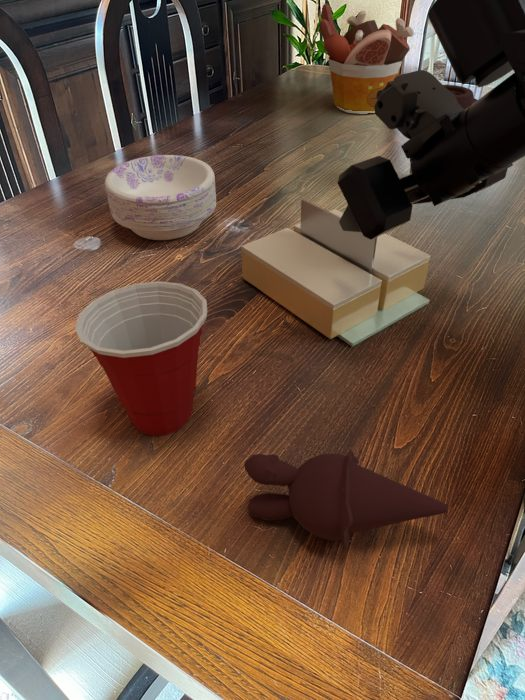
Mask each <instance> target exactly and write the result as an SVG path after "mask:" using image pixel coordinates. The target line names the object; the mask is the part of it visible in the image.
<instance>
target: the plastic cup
mask: <svg viewBox="0 0 525 700" xmlns="http://www.w3.org/2000/svg"><path fill="white" fill-rule="evenodd" d="M207 316H208V301H207V299H206V298H205V297H204V296H203V295H202V294H201V293H200V292H199V291H198V289H196V288H194V287H193V288H192V287H190V286H188V285H186V284H183V283H179V282H168V281H160V280H159V281H149V282H139V283H138V282H137V283H132V284H130V285H126V286H122V287H119V288H116V289H112V290H110V291H108V292H106V293H105V294H102V295H101V296H98V297H97V298H95V299H93V300H91V302H90V303H88V305H87V306H86V307H84V308H83V309H82V310H81V311H80V313H78V315H77V319H76V322H75V325H74V330H75V332H76V335H77V337H78V339H79V342H81V344H82V345H83V346H85V347H86V348H88V349H89V350H90V351H91V352H92V354H93V356H94V357H95V358H96V360H97V361H98V363H99V365H100V366H101V368H102V369H103V371H104V373H105V375H106V377H107V378H108V381H109V383H110V385H111V387H112V389H113V391H114V392H115V395H116V397H117V398H118V400H119V402H120V404H121V407H123V408H124V410H125V412H126V414H127V416H128V418H129V420H130V423H131V424H132V425H133V426H134V428H135V429H137V430H138V431H140V432H141V433H142V434H144V435H145V434H146V435H149V436H154V437H157V436H166V435H169V434H172V433H174V432H177V431H179V430H180V429H182V428H183V427H184V426H186V425H187V424H188V421H189V420H190V418H191V416H192V413H193V410H194V409H193V408H194V398H195V396H194V395H195V391H196V385H197V374H198V360H199V351H200V350H199V348H200V345H201V336H202V332H203V326H204V323H205V321H206V320H207Z"/></svg>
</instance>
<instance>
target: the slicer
mask: <svg viewBox="0 0 525 700" xmlns="http://www.w3.org/2000/svg"><path fill="white" fill-rule="evenodd" d="M300 201H301V202H300V223H301V225H300V235H302V236H304V237H305V238H307V239H309V240H311V241H312V242H314V243H316V244H318V245H320V246H321V247H323V248H325V249H327V250H329V251H330V252H332V253H334V254H336V255H337V256H339V257H341V258H343V259H345V260H346V261H348V262H350V263H352V264H354V265H355V266H357V267H359V268H361V269H362V270H364V271H366V272H368V273H370V274H371V275H372V272H373V265H374V258H375V250H376V243H377V237H376V238H374V239H371V240H370V239H368V238H366V237H364V236H363V234H362V232H350V231H343V230H342V228H341V226H340V224H339V220H340V218H341V217H339V216H337V215H335V214H333V213H331V212H329V211H330V210H329V211H328V210H327V209H325V208H323V207H321V206H319V205H317V204H315V203H312V202H311V201H309V200H307V199H304V198H301V200H300ZM346 204H347V206H348V203H346ZM347 206H346V207H347Z"/></svg>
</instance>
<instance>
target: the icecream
mask: <svg viewBox="0 0 525 700" xmlns="http://www.w3.org/2000/svg"><path fill="white" fill-rule="evenodd" d="M359 464H360V461H359V459H358V458H357V457H356V456H355V453H354V451H353V450H352V449H350V450H349V451H348V452H347V454H346V455H343V454H340V453H321V454H319V455H316V456H313V457H311V458H308V459H307V460H306V461H304V462H303V463H302V464H300V465H299V466H298V467H295V466H294V465H292V464H290V463H289V462H286V461H283V460H280V457H279V456H278V455H277V454H274V453H273V454H263V453H257V454H252V455H251V456H249V457H248V458H247V459H246V460H245V461H244V470H245V471H246V473H247V475H248V477H249V478H250V479H252V481H253V482H254V483H256V484H260V485H264V486H269V485H271V486H278V487H287V489H288V494H285V493H273V492H266V493H262V494H256V495H254V496H253V497H251V498H250V499H249V501H248V503H247V511H248V513H249V514H250V515H251V516H253V517H254V518H255V519H260V520H263V521H276V520H283V519H287V518H290V517H292V516H293V518H294V519H295V520H296V521H297V523H299V525H300V526H301V527H302V528H303V529H304V530H305V531H307V532H308V533H310V534H312V535H313V536H315V537H316V538H320V539H325V540H327V541H331V542H335V541H340V542H341V543H342V544H343V546H344V548H345V549H346V548H347V547H348V546H350V541H349V540H350V539H349V536H351V534H354V533H355V534H356V533H359V532H364V531H369V530H372V529H378V528H383V527H387V526H390V525H395V524H400V523H404V522H409V521H413V520H417V519H422V518H427V517H432V516H437V515H441V514H446V513H448V509H449V507H448V504H447V503H445V502H442V501H441V500H439V499H436V498H434V497H432V496H430V495H427V494H425V493H423V492H420V491H418V490H416V489H415V488H411V487H410V486H407V485H404V484H403V483H400V482H399V481H396V480H394V479H392V478H389V477H386V476H384V475H382V474H380V473H377V472H375V471H373V470H371V469H369V468H367V467H364V466H361V465H359Z"/></svg>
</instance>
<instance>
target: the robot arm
mask: <svg viewBox="0 0 525 700" xmlns="http://www.w3.org/2000/svg"><path fill="white" fill-rule="evenodd" d="M427 18H428V20H429V22H430V24H431V26H432V28H433V30H434V33H435V35H436V37H437V38H438V41H439V43H440V45H441V47H442V49H443V51H444V54H445V55H446V58H447V59H448V62H449V64H450V67H451V68H452V70H453V72H454V74H455V77H456V78H457V81H458V82H459V83H461V85H465V84H467V83H469V82H471V81H474V82H475V84H476V87H477V88H483V87H485V86H488V85H490V84H492V83H494V82H496V81H497V80H499V79H501V78H503V77H504V76H507V75H508V74H509V73H511V72H512V71H513V73H512V74H511V75H509V76H507V77H506V78H505V79H503V80H502V81H501V82H500V83H498V84H497V85H496V86H495V87H493V88H492V89H491V90H489V91H488V92H487V93H485V94H484V95H482V96H481V97H480V98H479V99H477V101H476V102H475V103H473V104H472V105H471V106H469V107H468V108H466V109H465V110H464V109H463V108H462V107H461V106H460V104H459V103H458V102H457V99H456V98H455V96H454V95H453V94H452V93H451V92H450V91H449V90H448V89H447V88H446V87H444V86H443V85H444V84H443V83H442V82H441V81H440V80H439V79H438V78H437V77H436V76H435V75H433V74H432V73H431V72H429V71H427V70H423V69H419V70H415V71H411V72H407V73H403V74H398V75H397V76H396V77H395V78H394V80H393V81H390V82H388V83H387V85H386V86H385V88H384V89H382V90H379V91H378V92H377V95H376V96H377V101H376V103H375V106H374V109H375V116H376V117H377V118H378V119H379V120H380V121H381V122H382V123H383V124H384V126H386V127H387V128H388V129H389V130H395V129H396V130H398V132H399V133H400V134H401V135H402V136H403V137H404V138H406V139H408V140H407V141H406V142H404V143H403V144H401V145H400V147H401V149H402V151H403V153H404V156H405V157H406V158H407V159H410V158H411V159H412V162H409V163H410V164H409V165H410V166H409V168H410V167H411V172H412V174H411V175H406V176H404V177H401V178H400V177H399V175H398V173H397V171H396V169H395V167H394V165H393V163H392V160H391V159H388V158H386V157H383V156H381V155H377V156H374V157H371V158H367V159H365V160H362V161H359V162H356V163H354V164H351V165H349V166H348V167H347V168H346V169H345V170H343V172H341V173H340V174H339V175H338V179H337V185H338V187H339V189H340V191H341V193H342V195H343V197H344V199H345V202H346V204H348V206H346V208H345V209H344V211H343V215H342V217H341V218H340V220H339V224H340V226H341V228H342V230H343V231H350V232H362V234H363V236H364V237H366V238H368V239H370V240H371V239H374V238H376V237H378V236H380V235H383V234H385V233H386V234H387V233H389V232H391V231H394V230H395V229H397V228H400V227H401V226H403V225H404V224H406V223H408V222H409V221H410V220H411V217H412V212H413V205H420V204H426V203H432V205H433V207H436V206H438V205H441V204H443V203H445V202H447V201H450V200H456V199H463V198H466V197H468V196H471V195H473V194H476V193H478V192H481V191H483V190H485V189H487V188H489V187H491V186H493V185H495V184H497V183H499V182H500V181H503V180H504V179H506V176H507V173H508V170H509V169H510V168H511V167H513V166H514V163H515V162H517V161H519V160H520V159H523V158H525V0H435V1H434V2H433V4H432V5H431V7H430V8H429V10H428V13H427Z"/></svg>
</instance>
